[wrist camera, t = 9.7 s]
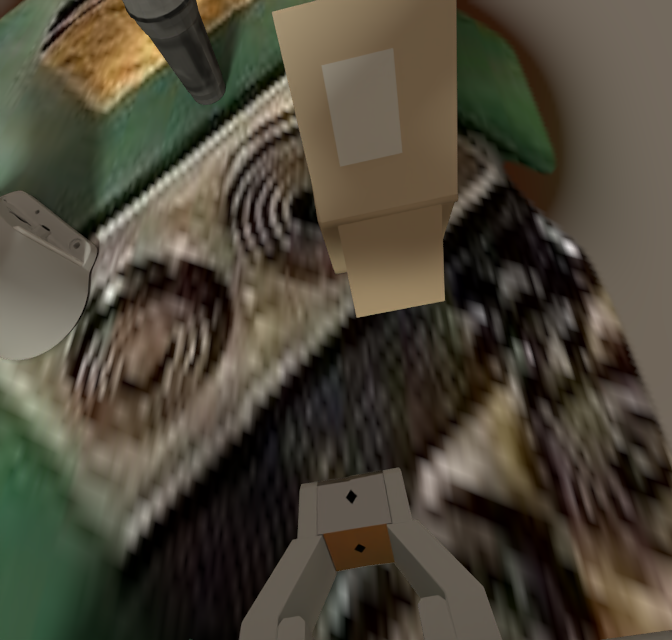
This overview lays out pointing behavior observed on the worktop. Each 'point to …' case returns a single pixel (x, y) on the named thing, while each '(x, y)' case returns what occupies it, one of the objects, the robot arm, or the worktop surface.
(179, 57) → the beverage cup
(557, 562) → the worktop surface
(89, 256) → the robot arm
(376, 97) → the lid
